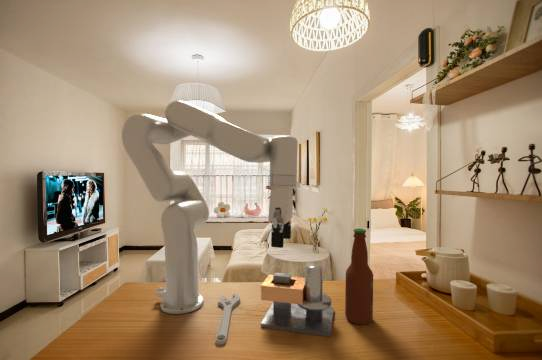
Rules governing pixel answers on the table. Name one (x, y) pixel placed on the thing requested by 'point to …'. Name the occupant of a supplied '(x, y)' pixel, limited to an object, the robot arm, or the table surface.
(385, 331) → the table surface
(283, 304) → the grey rectangular block
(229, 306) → the adjustable wrench
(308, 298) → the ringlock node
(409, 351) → the table surface
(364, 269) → the bottle
